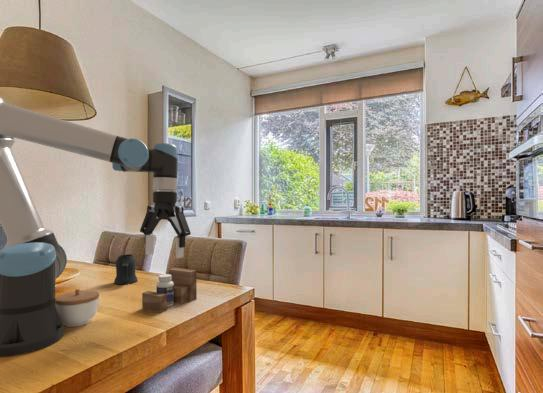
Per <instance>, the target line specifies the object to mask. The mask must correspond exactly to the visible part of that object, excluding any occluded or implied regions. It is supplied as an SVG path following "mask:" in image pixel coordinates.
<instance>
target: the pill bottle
mask: <svg viewBox="0 0 543 393" xmlns="http://www.w3.org/2000/svg"><path fill="white" fill-rule="evenodd" d="M171 279H172V278H171V275H170V274H169V273H165V274H159V275H158V282H157V283H156V291H155V292H157V293H163V294H167V308H170V307H172V306H173V305H174V304H175V303H174V283H173V282H172V281H171Z"/></svg>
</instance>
